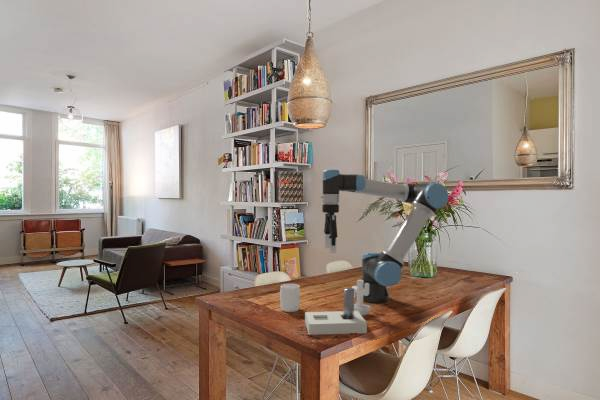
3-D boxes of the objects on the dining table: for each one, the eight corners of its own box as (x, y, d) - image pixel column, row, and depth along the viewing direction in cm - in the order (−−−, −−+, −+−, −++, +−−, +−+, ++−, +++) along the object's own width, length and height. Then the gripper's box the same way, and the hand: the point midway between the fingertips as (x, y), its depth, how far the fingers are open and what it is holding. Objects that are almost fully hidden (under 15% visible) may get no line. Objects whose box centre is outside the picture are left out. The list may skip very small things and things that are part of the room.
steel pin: (352, 322, 150) (352, 287, 150) (354, 325, 146) (355, 290, 146) (342, 322, 150) (342, 287, 149) (344, 326, 146) (345, 290, 145)
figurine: (357, 309, 170) (357, 276, 169) (373, 315, 162) (374, 280, 162) (346, 312, 165) (346, 279, 165) (362, 318, 158) (362, 283, 157)
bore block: (357, 320, 155) (357, 310, 155) (366, 333, 142) (366, 322, 141) (304, 321, 153) (305, 312, 153) (309, 334, 139) (309, 324, 139)
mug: (287, 303, 178) (287, 281, 178) (303, 310, 169) (303, 286, 168) (272, 306, 173) (272, 283, 172) (287, 313, 163) (288, 289, 163)
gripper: (318, 202, 181) (318, 246, 182) (327, 204, 157) (326, 255, 157) (333, 203, 182) (333, 246, 183) (344, 204, 157) (344, 255, 158)
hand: (330, 250), depth 170 cm, fingers open, 13 cm apart
